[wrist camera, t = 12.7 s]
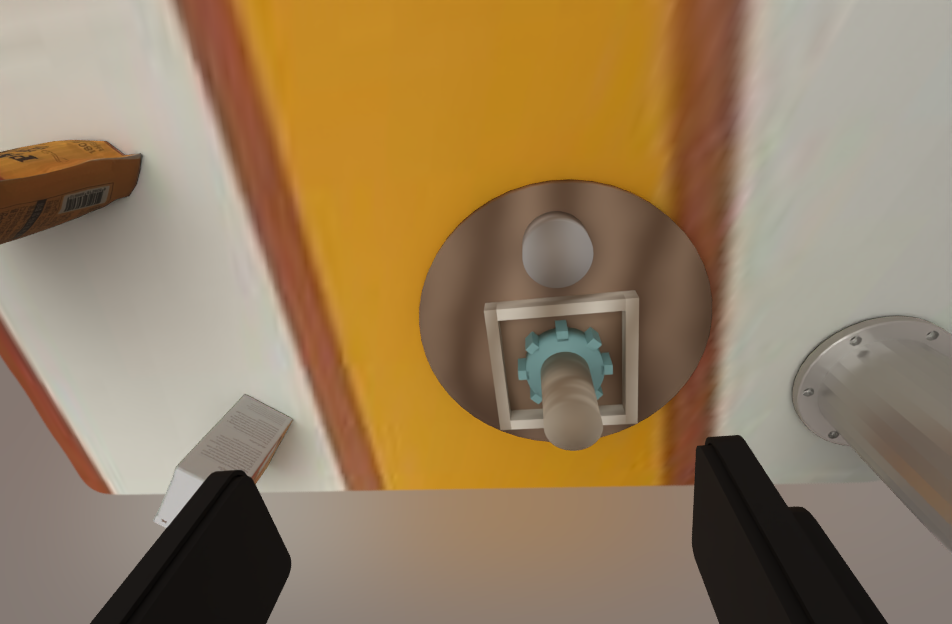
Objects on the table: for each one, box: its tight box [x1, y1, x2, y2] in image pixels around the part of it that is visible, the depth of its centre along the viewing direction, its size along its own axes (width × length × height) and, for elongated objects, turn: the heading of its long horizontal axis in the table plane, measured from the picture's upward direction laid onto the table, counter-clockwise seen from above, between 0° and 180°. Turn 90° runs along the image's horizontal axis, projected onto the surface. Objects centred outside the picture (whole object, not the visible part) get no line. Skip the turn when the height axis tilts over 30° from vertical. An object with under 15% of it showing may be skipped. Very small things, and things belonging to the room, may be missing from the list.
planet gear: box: [518, 320, 613, 451], centre depth 36 cm, size 8×8×9 cm
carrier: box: [419, 180, 712, 442], centre depth 38 cm, size 24×24×4 cm
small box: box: [153, 395, 293, 528], centre depth 44 cm, size 8×6×10 cm
